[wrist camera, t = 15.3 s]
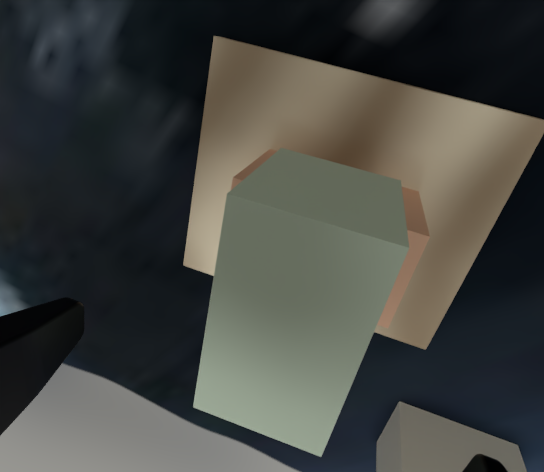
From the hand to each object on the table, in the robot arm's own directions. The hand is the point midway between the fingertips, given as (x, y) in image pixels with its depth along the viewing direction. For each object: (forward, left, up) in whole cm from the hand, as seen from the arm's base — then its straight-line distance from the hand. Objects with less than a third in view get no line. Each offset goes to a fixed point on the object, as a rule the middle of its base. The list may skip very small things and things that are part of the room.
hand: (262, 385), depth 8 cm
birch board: (0, 0, -12) cm, 12 cm away
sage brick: (0, 0, -6) cm, 6 cm away
